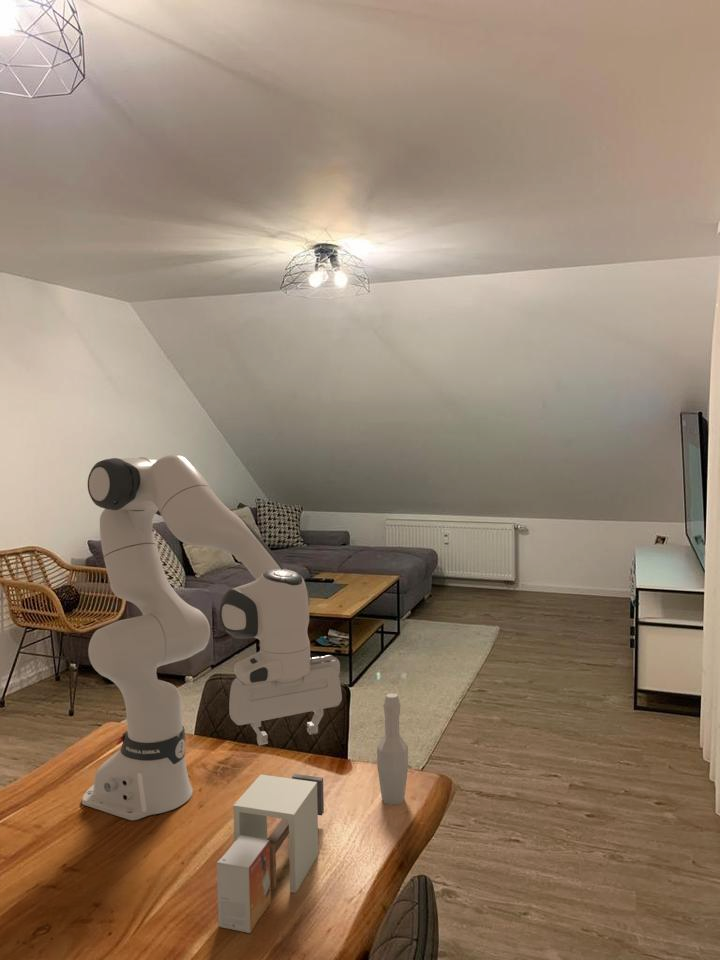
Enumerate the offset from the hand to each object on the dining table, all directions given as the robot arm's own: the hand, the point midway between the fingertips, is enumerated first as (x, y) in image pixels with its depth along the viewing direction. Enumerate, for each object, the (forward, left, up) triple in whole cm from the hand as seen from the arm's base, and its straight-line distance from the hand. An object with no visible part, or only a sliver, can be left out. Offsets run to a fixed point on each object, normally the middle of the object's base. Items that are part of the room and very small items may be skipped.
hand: (287, 738), depth 125 cm
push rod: (-1, 0, -20) cm, 20 cm away
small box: (-1, -16, -22) cm, 27 cm away
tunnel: (-1, -4, -22) cm, 22 cm away
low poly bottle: (+13, +23, -22) cm, 35 cm away
